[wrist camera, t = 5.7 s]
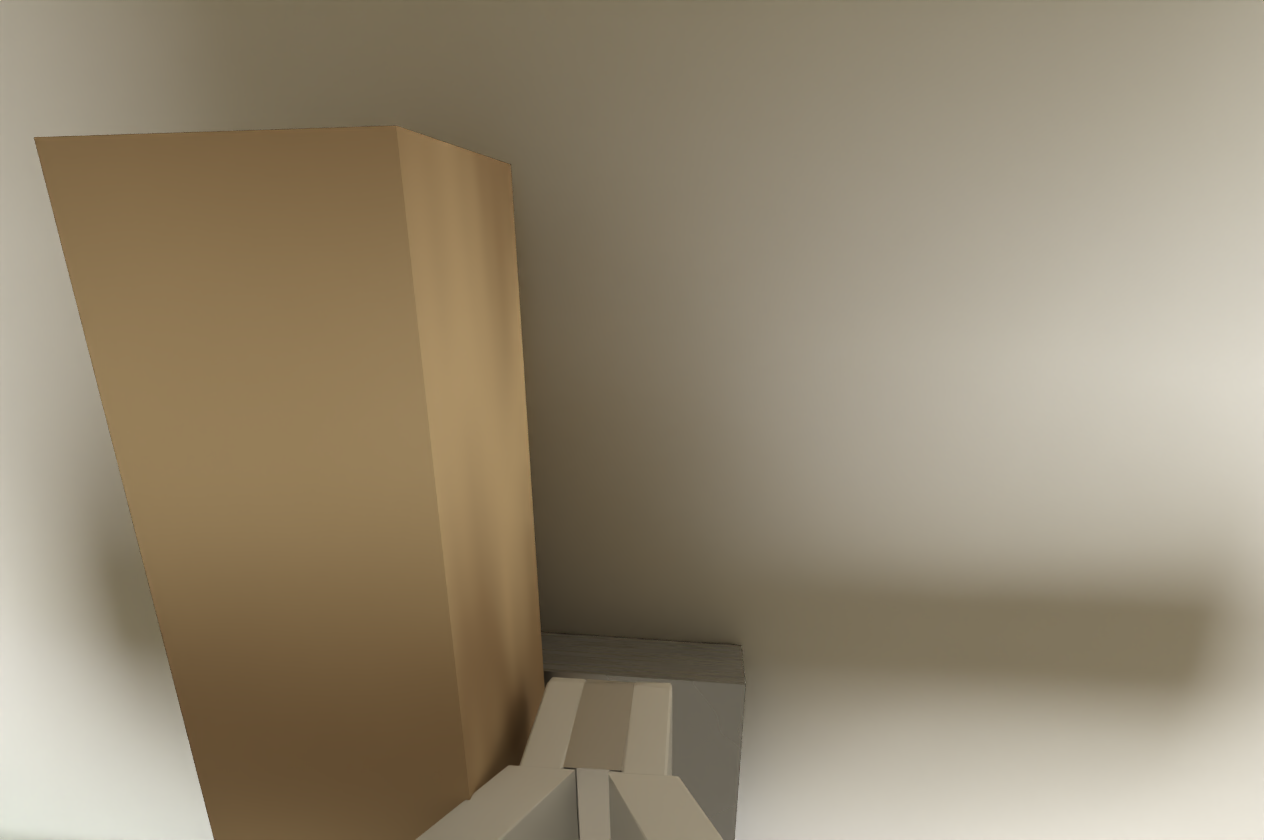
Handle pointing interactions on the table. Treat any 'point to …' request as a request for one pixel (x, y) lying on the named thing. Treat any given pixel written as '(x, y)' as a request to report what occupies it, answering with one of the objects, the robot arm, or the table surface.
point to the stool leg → (318, 458)
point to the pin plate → (675, 704)
